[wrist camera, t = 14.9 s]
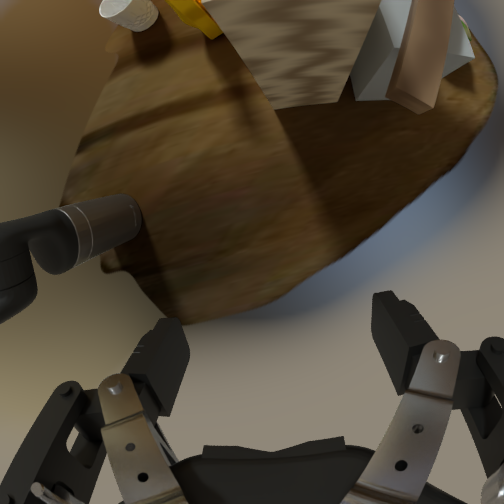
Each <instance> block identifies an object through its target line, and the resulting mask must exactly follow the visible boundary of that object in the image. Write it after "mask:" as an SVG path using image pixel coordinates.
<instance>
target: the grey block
mask: <svg viewBox="0 0 504 504" xmlns="http://www.w3.org/2000/svg"><path fill="white" fill-rule="evenodd" d="M411 2H412V0H381V2H380V5H379V7H378V10H377V12H376V14H375V17H374V19H373V21H372V24H371V26H370V28H369V31H368V33H367V35H366V38H365V40H364V42H363V45H362V47H361V49H360V52H359V54H358V56H357V59H356V61H355V63H354V65H353V68H352V70H351V72H350V77H351V82H352V86H353V91H354V95H355V100H356V101H368V100H390V99H388V98H386V97H385V95H386V92H387V89H388V85H389V82H390V79H391V76H392V73H393V69H394V66H395V63H396V59H397V56H398V52H399V49H400V45H401V41H402V38H403V34H404V30H405V26H406V22H407V18H408V14H409V10H410V6H411ZM474 58H475V57H474V54H473V51H472V48H471V45H470V42H469V40H468V37H467V35H466V32H465V30H464V27H463V25H462V22H461V20H460V18H459V16H458V13H457V11H456V9H455V7H454V8H453V17H452V24H451V31H450V37H449V43H448V49H447V54H446V59H445V64H444V69H443V73H442V78H443V77H445V76H446V75H448V74H449V73H451V72H453V71H454V70H456V69H458V68H459V67H461V66H463V65H464V64H466V63H468V62H469V61H471V60H473V59H474Z"/></svg>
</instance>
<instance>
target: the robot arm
mask: <svg viewBox="0 0 504 504" xmlns="http://www.w3.org/2000/svg"><path fill="white" fill-rule="evenodd" d="M141 222H142V217H141V212H140V208H139V206H138V204H137V203H136V202H135V200H134V199H133V198H132V197H130V196H128V195H126V194H116V195H112V196H106V197H102V198H97V199H93V200H88V201H84V202H80V203H76V204H71V205H67V206H64V207H60V208H56V209H52V210H49V211H45V212H42V213H39V214H35V215H32V216H28V217H25V218H21V219H16V220H11V221H7V222H3V223H0V324H1V323H3V322H5V321H6V320H8V319H10V318H11V317H13V316H15V315H16V314H18V313H19V312H21V311H22V310H23V309H25V308H26V307H27V306H29V305H30V304H31V303H32V302H33V300H34V299H35V298H36V296H37V290H38V289H37V282H36V277H35V273H34V269H33V265H32V260H31V256H30V251H31V253H32V255H33V256H34V258H35V260H36V261H37V263H38V264H39V265H40V267H41V268H42V269H44V270H45V271H46V272H48V273H50V274H53V275H57V274H62V273H64V272H66V271H68V270H70V269H72V268H74V267H76V266H78V265H80V264H82V263H83V262H85V261H87V260H89V259H91V258H94V257H95V256H98V255H100V254H102V253H104V252H106V251H108V250H110V249H112V248H114V247H116V246H118V245H121V244H123V243H125V242H127V241H129V240H131V239H133V238H134V237H136V235H137V234H138V233H139V230H140V228H141ZM29 250H30V251H29ZM372 300H373V301H372V321H371V331H372V336H373V340H374V342H375V344H376V346H377V348H378V350H379V353H380V355H381V357H382V359H383V361H384V364H385V366H386V369H387V371H388V373H389V375H390V378H391V380H392V382H393V385H394V387H395V389H396V392H397V395H398V396H399V395H403V394H404V395H403V398H402V400H401V402H400V404H399V406H398V409H397V411H396V413H395V415H394V417H393V419H392V421H391V423H390V425H389V427H388V429H387V431H386V433H385V435H384V437H383V439H382V441H381V443H380V444H379V446H378V448H377V450H376V451H374V450H371V449H369V448H365V447H360V446H354V445H345V441H344V436H341V437H336V438H330V439H323V440H315V441H308V442H305V443H302V444H299V445H296V446H293V447H289V448H286V449H282V450H279V451H275V452H267V451H261V450H255V449H250V448H244V447H239V446H208V445H204V448H203V453H202V454H201V455H196V456H192V457H189V458H186V459H184V460H182V461H179V460H178V459H177V457H176V456H175V454H174V452H173V450H172V449H171V447H170V445H169V443H168V441H167V439H166V438H165V436H164V434H163V432H162V430H161V428H160V426H159V424H158V423H157V419H158V416H167V417H169V416H170V413H171V411H172V408H173V405H174V402H175V399H176V396H177V393H178V391H179V387H180V385H181V382H182V379H183V376H184V373H185V371H186V367H187V365H188V362H189V358H190V349H189V345H188V343H187V340H186V337H185V334H184V331H183V329H182V326H181V323H180V320H179V319H178V318H177V317H174V318H161V319H159V320H158V322H157V324H156V326H155V327H154V329H153V330H150V331H149V332H148V333H147V334H145V335H144V336H143V337H142V338H141V340H140V341H139V343H138V345H137V347H136V348H135V350H134V353H132V355H131V356H130V358H129V359H128V361H127V363H126V365H125V366H124V368H123V370H122V371H121V373H118V374H113V375H111V376H108V377H107V378H105V379H104V380H103V381H102V382H101V383H100V385H99V387H98V389H91V390H83V389H82V387H81V386H80V384H79V383H78V382H76V381H67V382H65V383H62V384H61V385H59V386H58V387H57V388H56V389H55V390H54V392H53V394H52V395H51V396H50V398H49V400H48V401H47V403H46V404H45V406H44V407H43V409H42V411H41V412H40V414H39V416H38V417H37V419H36V421H35V422H34V424H33V425H32V427H31V429H30V430H29V432H28V434H27V436H26V438H25V439H24V441H23V443H22V444H21V446H20V448H19V450H18V452H17V454H16V455H15V457H14V459H13V461H12V463H11V465H10V467H9V469H8V471H7V473H6V475H5V476H4V479H3V481H2V483H1V485H0V504H89V502H90V498H91V495H92V493H93V490H94V487H95V484H96V481H97V478H98V475H99V473H100V470H101V467H102V465H103V462H104V459H105V457H106V454H108V457H109V461H110V464H111V467H112V470H113V473H114V476H115V479H116V482H117V484H118V487H119V490H120V492H121V495H122V497H123V501H122V502H120V503H119V504H467V503H465V502H463V501H461V500H459V499H457V498H455V497H453V496H451V495H449V494H448V493H446V492H444V491H442V490H440V489H439V488H437V487H435V486H433V485H431V484H429V483H428V482H426V481H427V479H428V476H429V474H430V472H431V469H432V467H433V464H434V462H435V459H436V457H437V454H438V451H439V448H440V446H441V443H442V440H443V437H444V434H445V430H446V427H447V424H448V421H449V417H450V414H451V410H455V409H461V412H462V414H463V416H464V419H465V421H466V423H467V425H468V428H469V430H470V433H471V435H472V438H473V440H474V443H475V445H476V448H477V450H478V453H479V456H480V458H481V461H482V464H483V467H484V470H485V473H486V476H487V480H486V482H485V484H484V486H483V489H482V493H481V496H482V498H481V504H504V339H503V338H500V337H489V338H486V339H485V340H484V341H483V342H482V344H481V346H480V349H479V350H475V351H460V350H459V348H458V347H457V346H456V345H455V344H454V343H452V342H450V341H447V340H440V339H439V338H438V337H437V336H436V334H435V333H434V331H433V330H432V329H431V327H430V326H429V324H428V323H427V322H426V320H424V318H423V317H422V315H421V314H419V311H418V310H417V309H416V307H415V306H414V305H413V304H411V303H409V302H407V301H406V300H401V301H399V299H398V298H397V297H396V296H395V294H394V293H393V291H391V290H390V291H384V292H379V293H374V294H373V299H372ZM494 394H496V396H497V398H498V400H499V402H500V403H501V406H502V408H501V406H500V404H499V403H498V401H497V399H496V397H495V395H494ZM73 427H75V428H76V429H77V431H78V432H79V434H78V436H77V438H76V440H75V443H74V445H73V447H72V449H71V451H70V453H69V451H68V450H67V446H66V442H67V439H68V437H69V435H70V433H71V431H72V429H73Z"/></svg>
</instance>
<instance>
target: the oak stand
mask: <svg viewBox="0 0 504 504" xmlns="http://www.w3.org/2000/svg"><path fill="white" fill-rule="evenodd" d="M380 2H381V0H201V3H202V4H203V6H204V7H205V8H206V10H207V11H208V12H209V14H210V15H211V16H212V18H213V19H214V20H215V22H216V23H217V24H218V26H219V27H220V28H221V30H222V31H223V33H224V34H225V35H226V37H227V38H228V40H229V41H230V42H231V44H232V45H233V47H234V48H235V50H236V51H237V53H238V54H239V56H240V57H241V59H242V60H243V61H244V63H245V65H246V66H247V68H248V69H249V71H250V72H251V74H252V75H253V77H254V78H255V80H256V81H257V83H258V85H259V86H260V88H261V89H262V91H263V93H264V94H265V96H266V98H267V99H268V101H269V102H270V104H271V106H272V107H273V109H274V110H275V109H282V108H289V107H296V106H304V105H313V104H323V103H334V102H338V99H339V97H340V95H341V93H342V90H343V88H344V86H345V84H346V81H347V79H348V77H349V75H350V72H351V70H352V68H353V65H354V63H355V61H356V59H357V56H358V54H359V52H360V49H361V47H362V45H363V42H364V40H365V38H366V35H367V33H368V31H369V28H370V26H371V24H372V21H373V19H374V17H375V14H376V12H377V10H378V7H379V5H380Z"/></svg>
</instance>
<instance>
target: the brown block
mask: <svg viewBox="0 0 504 504" xmlns="http://www.w3.org/2000/svg"><path fill="white" fill-rule="evenodd" d="M453 8H454V0H412V2H411V6H410V10H409V14H408V18H407V22H406V26H405V30H404V34H403V38H402V41H401V45H400V49H399V52H398V56H397V59H396V63H395V66H394V69H393V73H392V76H391V79H390V82H389V85H388V89H387V92H386V95H385V97H386V98H388V99H390V100H392V101H394V102H396V103H398V104H400V105H402V106H403V107H405V108H407V109H409V110H411V111H413V112H414V113H416V114H418V115H419V114H422V113H424V112H426V111H428V110H431V109H433V108H434V105H435V102H436V98H437V94H438V90H439V86H440V82H441V78H442V73H443V69H444V64H445V59H446V54H447V49H448V43H449V37H450V31H451V24H452V17H453Z"/></svg>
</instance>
